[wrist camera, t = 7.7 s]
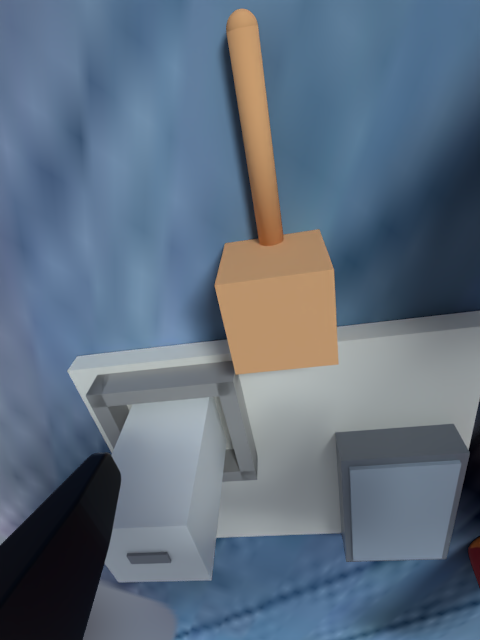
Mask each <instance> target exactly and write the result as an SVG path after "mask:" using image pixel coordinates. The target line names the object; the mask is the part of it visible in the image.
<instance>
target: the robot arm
mask: <svg viewBox="0 0 480 640" xmlns="http://www.w3.org/2000/svg"><path fill="white" fill-rule="evenodd" d="M120 486H121V473H120V470H119V469H118V467H117V465H116V463H115V461H114V459H113V458H112V456H111V454H109V453H107V452H105V453H94V454H92V455H91V456H89V457H88V458H87V459H86V460H85V461H84V462H83V463H82V464H81V465H80V466H79V467H78V468H77V469H76V470H75V471H74V472H73V473H72V474H71V475H70V476H69V477H68V478H67V479H66V480H65V481H64V482H63V483H62V484H61V485H60V486H59V487H58V488H57V489H56V490H55V491H54V492H53V493H52V494H51V495H50V496H49V497H48V498H47V499H46V500H45V501H44V502H43V503H42V504H41V505H40V506H39V507H38V508H37V509H36V510H35V511H34V512H33V513H32V514H31V515H30V516H29V517H28V518H27V519H26V520H25V521H24V522H23V523H22V524H21V525H20V526H19V527H18V528H17V529H16V530H15V531H14V532H13V533H12V534H11V535H10V536H9V537H8V538H7V539H6V540H5V541H4V542H3V543H2V544H1V545H0V640H83V637H84V633H85V630H86V626H87V622H88V619H89V615H90V612H91V608H92V605H93V601H94V598H95V594H96V591H97V587H98V584H99V580H100V577H101V573H102V570H103V566H104V563H105V559H106V556H107V552H108V548H109V544H110V540H111V535H112V530H113V524H114V519H115V513H116V508H117V502H118V497H119V491H120Z"/></svg>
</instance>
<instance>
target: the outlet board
mask: <svg viewBox="0 0 480 640" xmlns="http://www.w3.org/2000/svg"><path fill="white" fill-rule="evenodd" d="M337 342H338V362H339V365H328V366H318V367H308V368H298V369H288V370H278V371H268V372H258V373H247V374H237V375H236V374H235V370H234V366H233V361H232V357H231V353H230V349H229V344H228V340H227V339H225V340H216V341H207V342H199V343H190V344H181V345H172V346H163V347H154V348H146V349H137V350H128V351H119V352H110V353H101V354H93V355H84V356H77V358H76V359H75V360H74V362H73V363H72V365H71V366H70V368H69V369H68V373H69V375H70V377H71V379H72V380H73V382H74V384H75V386H76V388H77V390H78V392H79V393H80V395H81V397H82V399H83V401H84V403H85V404H86V406H87V408H88V410H89V412H90V414H91V416H92V417H93V419H94V421H95V423H96V425H97V427H98V429H99V430H100V432H101V434H102V436H103V438H104V440H105V441H106V443H107V445H108V447H109V449H110V451H111V453H113V450H114V448H115V445H116V443H117V440H118V438H119V436H120V433H121V431H122V428H123V426H124V423H125V421H126V419H127V416H128V414H129V411H130V409H131V407H132V404H141V403H152V402H163V401H174V400H184V399H195V398H206V397H214V399H215V402H216V406H217V409H218V412H219V416H220V419H221V423H222V426H223V429H224V433H225V436H226V440H227V442H226V451H225V461H224V470H223V479H222V489H221V498H220V507H219V516H218V526H217V535H216V538H221V537H248V536H275V535H302V534H329V533H341V517H340V501H339V485H338V469H337V453H336V437H335V432H348V431H361V430H375V429H388V428H402V427H415V426H429V425H442V424H454V425H455V427H456V429H457V430H458V432H459V434H460V436H461V438H462V440H463V441H464V443H465V445H466V447H467V449H468V450H469V445H470V441H471V436H472V431H473V427H474V422H475V417H476V413H477V408H478V404H479V399H480V311H472V312H464V313H455V314H446V315H437V316H428V317H419V318H411V319H402V320H393V321H384V322H375V323H366V324H358V325H349V326H340V327H337Z"/></svg>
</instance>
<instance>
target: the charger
mask: <svg viewBox="0 0 480 640" xmlns="http://www.w3.org/2000/svg"><path fill="white" fill-rule="evenodd" d="M226 442H227V440H226V436H225V433H224V429H223V426H222V423H221V419H220V416H219V412H218V409H217V406H216V402H215V399H214V397H206V398H195V399H184V400H174V401H163V402H152V403H141V404H132V407H131V409H130V411H129V414H128V416H127V419H126V421H125V423H124V426H123V428H122V431H121V433H120V436H119V438H118V440H117V443H116V445H115V448H114V450H113V453H112V455H111V456H112V458H113V459H114V461H115V463H116V465H117V467H118V469H119V470H120V473H121V486H120V491H119V497H118V502H117V508H116V513H115V519H114V524H113V530H112V535H111V540H110V544H109V548H108V552H107V556H106V559H105V564H106V566H107V567H108V569H109V570H110V571H111V573H112V574H113V575H114V577H115V578H116V580H117V581H118V582H160V581H204V580H212V572H213V563H214V554H215V544H216V535H217V526H218V516H219V507H220V498H221V489H222V479H223V470H224V461H225V451H226Z"/></svg>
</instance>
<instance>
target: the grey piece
mask: <svg viewBox="0 0 480 640" xmlns="http://www.w3.org/2000/svg"><path fill="white" fill-rule="evenodd" d="M335 437H336V453H337V469H338V485H339V501H340V517H341V533H342V539H343V545H344V551H345V557H346V562H356V561H394V560H432V559H446V558H447V554H448V549H449V545H450V540H451V536H452V531H453V527H454V522H455V518H456V513H457V509H458V504H459V500H460V495H461V491H462V486H463V481H464V477H465V472H466V468H467V463H468V459H469V454H470V452H469V450H468V449H467V447H466V445H465V443H464V441H463V440H462V438H461V436H460V434H459V432H458V430H457V429H456V427H455V425H454V424H442V425H429V426H415V427H402V428H388V429H375V430H361V431H348V432H335Z"/></svg>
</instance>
